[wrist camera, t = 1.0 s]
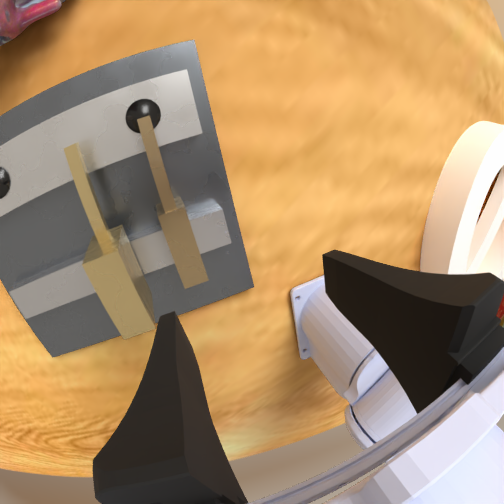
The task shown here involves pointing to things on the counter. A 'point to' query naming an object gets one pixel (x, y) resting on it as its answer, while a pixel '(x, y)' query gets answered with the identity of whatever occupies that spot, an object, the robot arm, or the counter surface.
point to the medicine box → (501, 312)
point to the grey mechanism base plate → (117, 194)
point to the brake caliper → (23, 15)
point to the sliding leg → (112, 261)
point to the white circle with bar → (468, 207)
